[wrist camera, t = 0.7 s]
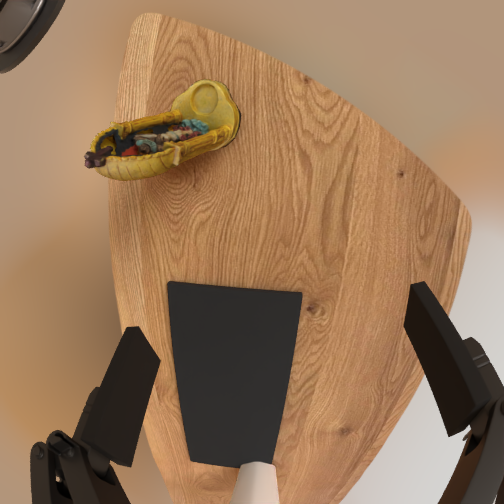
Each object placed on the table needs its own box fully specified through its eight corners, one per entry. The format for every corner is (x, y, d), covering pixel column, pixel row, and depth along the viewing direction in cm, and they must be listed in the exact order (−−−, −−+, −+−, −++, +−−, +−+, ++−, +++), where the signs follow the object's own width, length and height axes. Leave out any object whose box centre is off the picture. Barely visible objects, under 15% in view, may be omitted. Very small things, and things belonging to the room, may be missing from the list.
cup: (249, 482, 45) (242, 546, 29) (220, 464, 43) (206, 534, 27) (295, 471, 43) (296, 541, 27) (268, 452, 41) (263, 531, 25)
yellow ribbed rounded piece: (188, 194, 31) (121, 216, 16) (140, 150, 29) (53, 143, 15) (259, 117, 28) (246, 70, 13) (205, 74, 27) (155, 11, 12)
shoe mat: (169, 280, 34) (167, 283, 33) (302, 292, 33) (302, 295, 32) (191, 458, 45) (190, 461, 44) (270, 467, 44) (270, 470, 43)
